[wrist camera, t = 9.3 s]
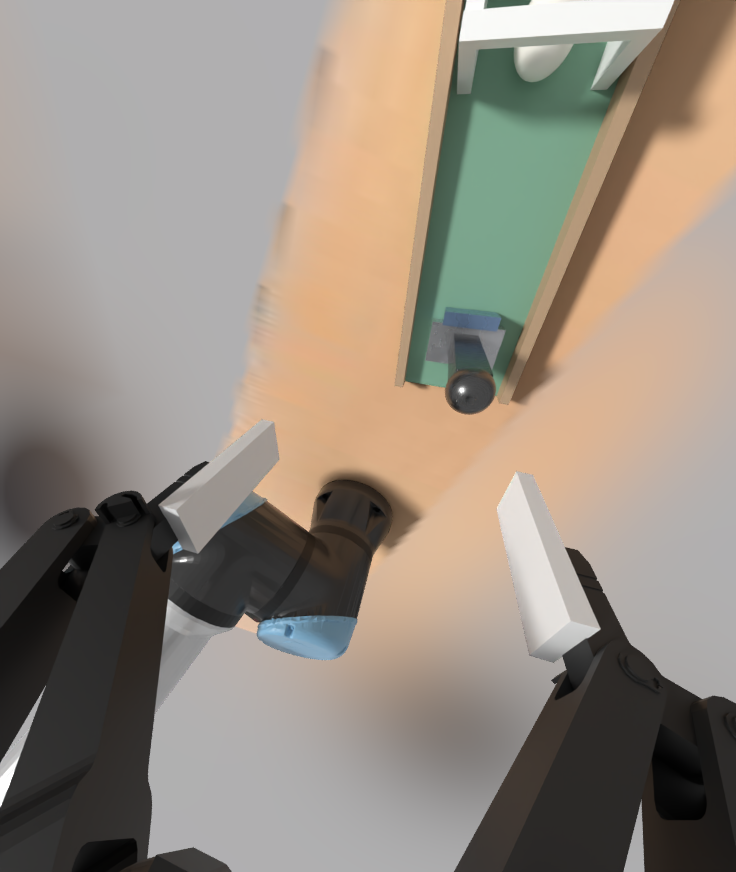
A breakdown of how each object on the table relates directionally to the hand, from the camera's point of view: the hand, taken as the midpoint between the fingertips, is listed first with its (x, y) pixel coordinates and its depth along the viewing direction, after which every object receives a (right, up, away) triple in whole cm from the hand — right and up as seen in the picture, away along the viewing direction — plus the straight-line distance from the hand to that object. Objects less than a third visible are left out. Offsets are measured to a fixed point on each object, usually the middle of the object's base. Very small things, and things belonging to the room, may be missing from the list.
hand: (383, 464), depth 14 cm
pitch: (+10, +20, +10) cm, 25 cm away
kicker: (+9, +12, +14) cm, 21 cm away
